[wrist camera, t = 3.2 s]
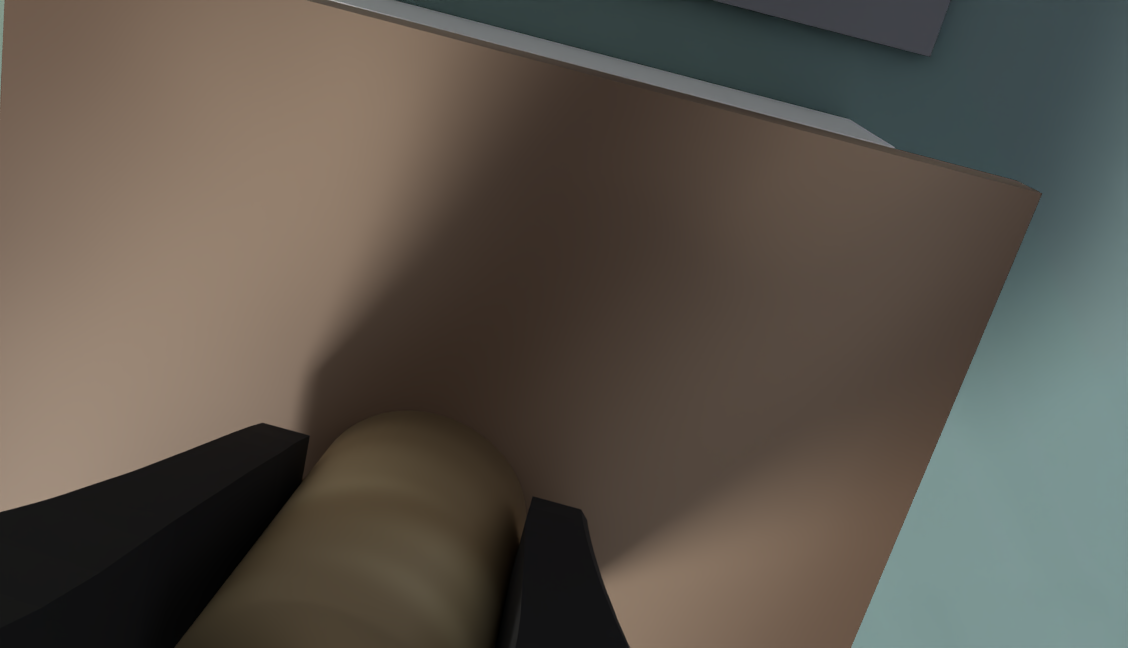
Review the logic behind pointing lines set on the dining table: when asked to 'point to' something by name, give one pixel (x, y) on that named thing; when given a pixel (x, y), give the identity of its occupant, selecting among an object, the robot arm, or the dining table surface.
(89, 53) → the lid
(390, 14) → the box
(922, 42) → the mat
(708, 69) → the dining table surface
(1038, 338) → the dining table surface
